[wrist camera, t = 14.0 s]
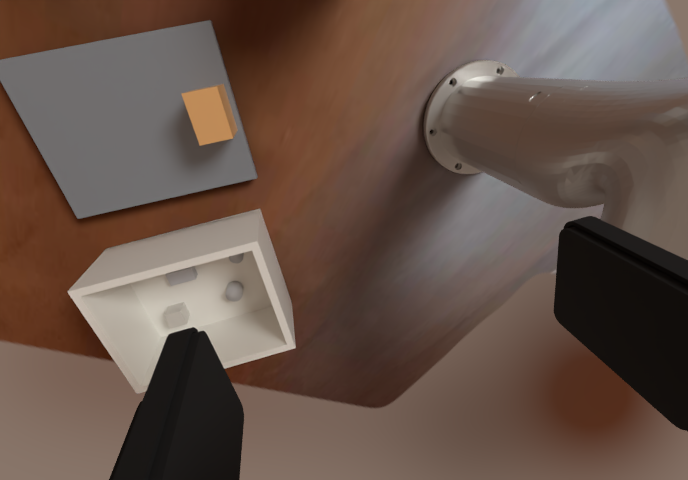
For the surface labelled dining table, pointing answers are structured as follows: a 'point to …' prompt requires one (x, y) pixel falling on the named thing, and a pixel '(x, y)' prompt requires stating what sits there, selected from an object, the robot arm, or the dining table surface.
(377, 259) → the dining table surface
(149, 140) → the grey board with block
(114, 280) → the parts tub
